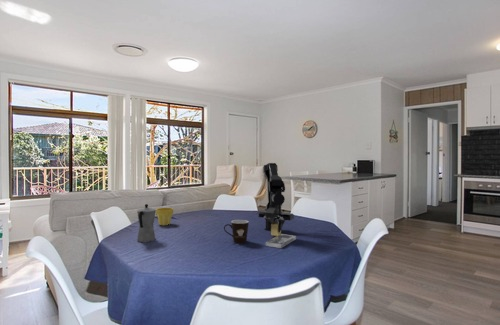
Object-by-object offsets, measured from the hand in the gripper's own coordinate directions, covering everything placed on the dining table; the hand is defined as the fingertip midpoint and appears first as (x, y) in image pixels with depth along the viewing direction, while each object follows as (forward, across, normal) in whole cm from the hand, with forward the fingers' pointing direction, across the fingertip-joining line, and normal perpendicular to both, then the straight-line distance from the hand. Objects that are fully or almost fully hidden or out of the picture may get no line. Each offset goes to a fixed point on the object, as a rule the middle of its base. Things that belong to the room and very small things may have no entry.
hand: (275, 231), depth 156 cm
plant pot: (+2, -72, -11) cm, 73 cm away
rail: (+3, +7, -9) cm, 12 cm away
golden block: (+2, 0, 0) cm, 2 cm away
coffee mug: (+3, -12, -19) cm, 23 cm away
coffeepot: (+3, -52, -42) cm, 67 cm away
